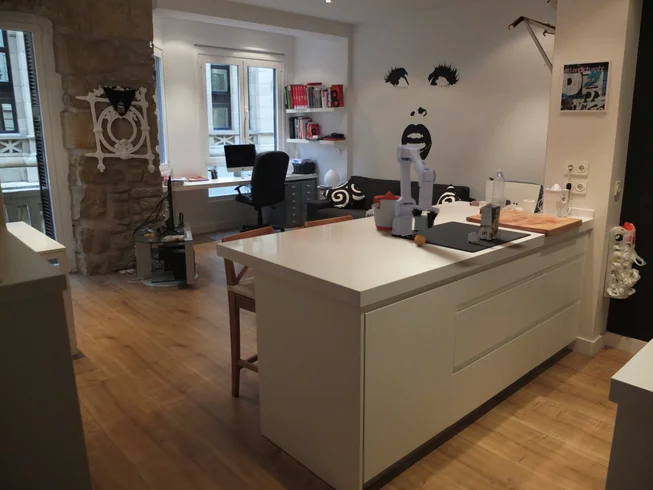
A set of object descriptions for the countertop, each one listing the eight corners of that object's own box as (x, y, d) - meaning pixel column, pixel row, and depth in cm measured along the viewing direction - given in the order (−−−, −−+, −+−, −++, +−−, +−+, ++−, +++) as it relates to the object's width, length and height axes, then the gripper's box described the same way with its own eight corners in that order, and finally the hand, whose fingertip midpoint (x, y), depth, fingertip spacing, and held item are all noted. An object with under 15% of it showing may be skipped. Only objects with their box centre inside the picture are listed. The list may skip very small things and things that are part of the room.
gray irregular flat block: (467, 242, 241) (468, 226, 239) (469, 242, 242) (470, 225, 240) (482, 245, 236) (483, 228, 235) (483, 244, 238) (485, 227, 236)
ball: (415, 231, 233) (420, 238, 236) (410, 240, 232) (415, 246, 235) (424, 233, 229) (429, 239, 232) (419, 242, 228) (424, 248, 231)
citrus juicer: (364, 227, 272) (365, 190, 267) (392, 225, 279) (394, 189, 275) (379, 233, 258) (381, 193, 254) (408, 231, 265) (410, 192, 261)
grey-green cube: (414, 229, 233) (414, 216, 231) (422, 227, 237) (423, 215, 235) (425, 231, 228) (425, 218, 227) (433, 229, 232) (434, 216, 231)
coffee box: (491, 241, 244) (494, 208, 241) (478, 239, 248) (481, 206, 244) (498, 238, 251) (501, 205, 248) (485, 236, 255) (488, 204, 251)
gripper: (407, 195, 232) (405, 225, 235) (433, 199, 221) (431, 230, 224) (417, 194, 236) (415, 223, 239) (443, 198, 226) (441, 228, 229)
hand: (423, 226), depth 232 cm, fingers closed on grey-green cube, 6 cm apart
